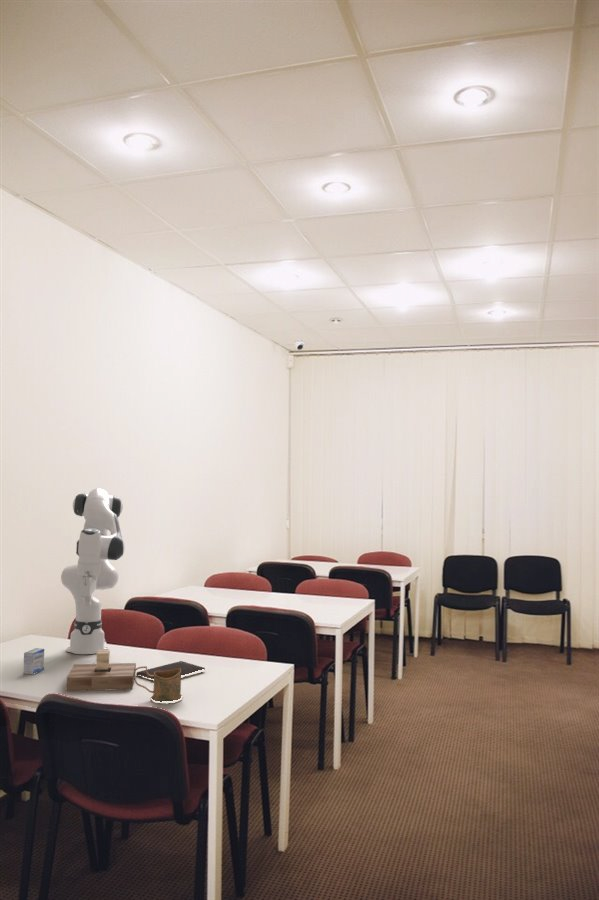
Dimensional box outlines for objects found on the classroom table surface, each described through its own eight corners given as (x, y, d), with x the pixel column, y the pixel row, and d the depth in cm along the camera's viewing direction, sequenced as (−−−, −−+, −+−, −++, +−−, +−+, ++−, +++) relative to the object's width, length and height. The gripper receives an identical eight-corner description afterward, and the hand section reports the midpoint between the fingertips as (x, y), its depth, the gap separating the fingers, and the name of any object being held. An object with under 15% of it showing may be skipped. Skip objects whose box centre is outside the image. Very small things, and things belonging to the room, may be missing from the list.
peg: (96, 681, 270) (97, 650, 271) (108, 681, 271) (109, 650, 272) (95, 684, 266) (96, 653, 266) (107, 684, 267) (108, 653, 267)
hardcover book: (205, 673, 286) (205, 668, 286) (161, 685, 269) (161, 679, 269) (180, 666, 296) (180, 660, 297) (136, 677, 279) (136, 671, 279)
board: (73, 677, 275) (74, 664, 276) (135, 675, 279) (135, 662, 280) (66, 691, 258) (66, 677, 258) (132, 689, 262) (132, 675, 262)
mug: (133, 695, 254) (134, 662, 255) (181, 693, 258) (182, 660, 259) (133, 706, 243) (134, 671, 243) (183, 703, 247) (184, 669, 247)
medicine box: (32, 675, 277) (33, 653, 277) (22, 674, 278) (23, 652, 278) (44, 669, 285) (44, 648, 285) (34, 668, 286) (35, 647, 286)
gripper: (94, 573, 264) (92, 610, 264) (100, 566, 284) (99, 600, 284) (77, 573, 263) (75, 610, 263) (84, 566, 283) (83, 600, 283)
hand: (87, 605), depth 273 cm, fingers closed
